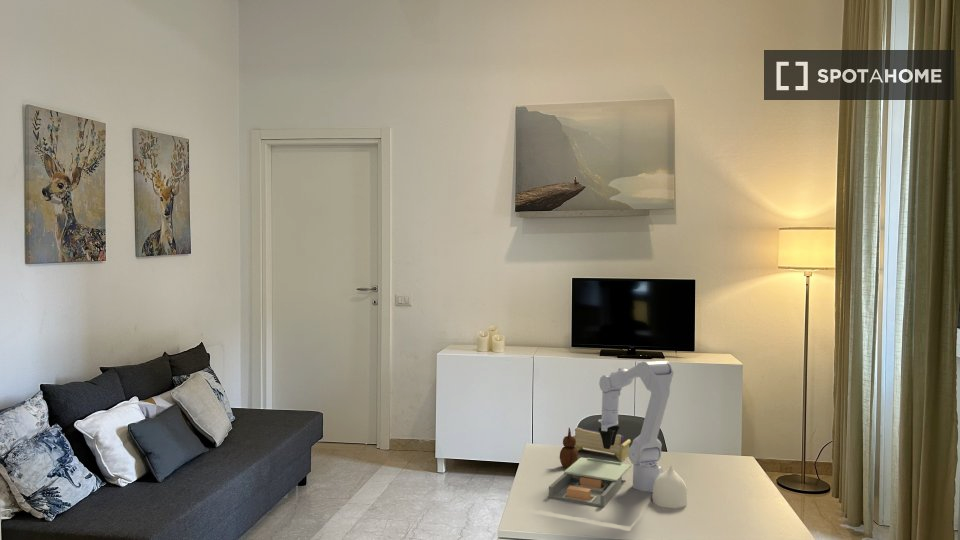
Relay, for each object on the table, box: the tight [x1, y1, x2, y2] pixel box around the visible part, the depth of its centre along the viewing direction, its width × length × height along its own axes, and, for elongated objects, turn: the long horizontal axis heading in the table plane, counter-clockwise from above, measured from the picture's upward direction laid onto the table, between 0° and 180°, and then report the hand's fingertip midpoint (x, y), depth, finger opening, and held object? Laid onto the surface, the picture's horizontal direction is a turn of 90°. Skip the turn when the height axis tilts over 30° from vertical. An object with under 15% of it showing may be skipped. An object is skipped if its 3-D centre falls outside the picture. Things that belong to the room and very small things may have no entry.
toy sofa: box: [572, 427, 632, 462], centre depth 295 cm, size 21×9×10 cm, turn 60°
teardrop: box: [651, 465, 688, 509], centre depth 244 cm, size 11×11×12 cm
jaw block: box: [567, 486, 591, 501], centre depth 242 cm, size 7×3×3 cm, turn 65°
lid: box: [563, 457, 632, 482], centre depth 260 cm, size 18×18×1 cm
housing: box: [548, 472, 623, 508], centre depth 248 cm, size 18×21×5 cm
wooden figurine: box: [559, 427, 579, 469], centre depth 278 cm, size 7×6×15 cm
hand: (608, 446), depth 272 cm, fingers open, 5 cm apart
